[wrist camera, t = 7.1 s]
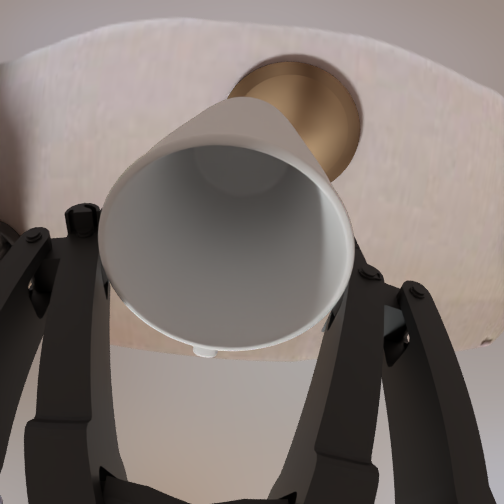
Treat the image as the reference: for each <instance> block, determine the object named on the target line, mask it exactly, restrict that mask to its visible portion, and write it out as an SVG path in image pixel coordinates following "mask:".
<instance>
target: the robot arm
mask: <svg viewBox="0 0 504 504" xmlns="http://www.w3.org/2000/svg"><path fill="white" fill-rule="evenodd" d="M101 212H102V209H101V210H100V209H99V207H98V206H97V205H95V204H92V203H83V204H78V205H75V206H72V207H71V208H69V209H68V210H67V211H66V212H65V219H66V225H67V231H68V235H67V237H64V238H52V239H51V238H50V233H49V230H47V229H46V228H43V227H35V228H31V229H29V230H28V231H26V232H24V233H23V234H22V235H21V236H19V235H18V234H17V233H16V232H15V231H14V230H13V229H12V228H11V227H9V226H8V225H7V224H5V223H3V222H1V221H0V472H1V470H2V467H3V463H4V459H5V455H6V451H7V446H8V441H9V437H10V433H11V429H12V425H13V421H14V417H15V414H16V410H17V407H18V404H19V400H20V397H21V394H22V391H23V387H24V384H25V382H26V379H27V376H28V373H29V370H30V367H31V365H32V362H33V359H34V357H35V354H36V351H37V349H38V346H39V344H40V342H41V339H42V337H43V343H42V350H41V357H40V366H39V375H38V388H37V404H36V415H35V417H34V419H32V420H30V421H28V422H27V424H26V426H25V433H24V458H25V475H26V486H27V495H28V502H29V504H190V503H187V502H185V501H182V500H179V499H177V498H174V497H172V496H169V495H167V494H164V493H162V492H160V491H158V490H155V489H153V488H151V487H149V486H144V485H140V484H136V483H132V482H128V480H127V477H126V472H125V469H124V465H123V462H122V459H121V457H120V453H119V449H118V442H117V435H116V427H115V419H114V409H113V399H112V386H111V369H110V336H109V318H110V283H109V280H108V277H107V275H106V273H105V270H104V268H103V265H102V261H101V257H100V252H99V245H98V228H99V220H100V215H101ZM354 243H355V255H354V264H353V269H352V273H351V276H350V279H349V282H348V284H347V286H346V289H345V291H344V292H343V294H342V296H341V297H340V299H339V300H338V302H337V303H336V305H335V306H334V307H333V308H332V311H331V313H330V315H329V317H328V319H327V321H326V323H325V325H324V327H323V329H322V332H324V331H325V332H324V336H323V340H322V344H321V348H320V352H319V355H318V359H317V363H316V367H315V370H314V374H313V377H312V381H311V385H310V388H309V391H308V394H307V398H306V401H305V404H304V408H303V411H302V414H301V417H300V420H299V423H298V426H297V429H296V432H295V436H294V438H293V441H292V444H291V447H290V450H289V453H288V455H287V458H286V461H285V464H284V466H283V469H282V471H281V474H280V476H279V478H278V479H277V481H276V482H275V484H274V486H273V487H272V489H271V492H270V494H269V496H268V499H267V500H265V499H241V500H235V501H229V502H222V503H214V504H374V501H375V497H376V492H377V488H378V483H379V472H378V468H377V467H376V466H375V465H373V464H372V461H371V455H372V449H373V443H374V437H375V430H376V422H377V415H378V407H379V398H380V388H381V377H382V383H383V388H384V394H385V401H386V408H387V415H388V422H389V431H390V439H391V448H392V460H393V471H394V488H395V504H496V502H495V499H494V497H493V494H492V492H491V490H490V487H489V483H488V476H487V470H486V465H485V459H484V453H483V449H482V443H481V439H480V435H479V430H478V426H477V423H476V418H475V415H474V411H473V407H472V404H471V400H470V397H469V394H468V390H467V387H466V384H465V381H464V378H463V375H462V372H461V369H460V366H459V363H458V361H457V357H456V355H455V352H454V349H453V347H452V344H451V341H450V339H449V336H448V334H447V331H446V329H445V326H444V324H443V322H442V319H441V317H440V315H439V312H438V310H437V308H436V305H435V303H434V301H433V299H432V297H431V295H430V293H429V292H428V290H427V289H426V288H425V287H424V286H423V285H422V284H420V283H418V282H414V281H405V282H404V283H403V285H402V287H401V289H399V288H396V287H394V286H391V285H388V284H386V283H384V278H383V275H382V274H381V273H380V271H378V270H377V269H376V268H375V267H373V266H371V265H369V264H367V262H366V260H365V258H364V256H363V254H362V252H361V250H360V247H359V245H358V244H357V241H356V239H355V237H354ZM30 283H32V285H31V286H30V288H29V289H28V286H29V285H30ZM43 334H44V336H43ZM408 334H409V338H410V339H409V342H408V340H407V336H408ZM0 504H3V500H2V497H1V495H0Z"/></svg>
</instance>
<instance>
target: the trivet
mask: <svg viewBox="0 0 504 504" xmlns="http://www.w3.org/2000/svg"><path fill="white" fill-rule="evenodd" d="M234 97H252V98H257V99H260V100H263V101H265V102H267V103H269V104H271V105H273V106H274V107H276V108H277V109H278V110H279V111H280V112H281V113H282V114H283V115H284V116H285V117H286V118H287V119H288V120H289V122H290V123H291V124H292V126H293V127H294V128H295V130H296V131H297V133H298V134H299V136H300V137H301V138H302V140H303V141H304V143H305V144H306V145H307V147H308V148H309V150H310V151H311V153H312V154H313V155H314V157H315V158H316V160H317V161H318V163H319V164H320V166H321V167H322V169H323V170H324V172H325V173H326V175H327V177H328V179H329V181H330V182H332V181H334V180H335V179H336V178H337V177H338V176H339V175H340V174H341V173H342V172H343V171H344V170H345V169H346V168H347V166H348V165H349V163H350V162H351V160H352V158H353V156H354V154H355V152H356V149H357V146H358V142H359V136H360V121H359V115H358V111H357V108H356V105H355V103H354V101H353V99H352V97H351V95H350V94H349V92H348V91H347V89H346V88H345V87H344V86H343V85H342V84H341V82H340V81H338V80H337V79H336V78H335V77H334V76H332V75H331V74H329V73H328V72H326V71H324V70H322V69H320V68H318V67H316V66H313V65H309V64H306V63H300V62H279V63H274V64H270V65H267V66H264V67H261V68H259V69H257V70H255V71H253V72H251V73H250V74H249V75H247V76H246V77H245V78H243V79H242V80H241V81H240V82H239V83H238V84H237V85H236V86H235V88H234V89H233V90H232V92H231V93H230V95H229V96H228V98H227V99H229V98H234Z"/></svg>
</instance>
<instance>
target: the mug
mask: <svg viewBox="0 0 504 504" xmlns="http://www.w3.org/2000/svg"><path fill="white" fill-rule="evenodd" d="M98 245H99V252H100V257H101V261H102V265H103V268H104V270H105V273H106V275H107V277H108V280H109V282H110V283H111V285H112V287H113V289H114V290H115V292H116V293H117V295H118V296H119V297H120V299H121V300H122V301H123V302H124V304H125V305H126V306H127V307H128V308H129V309H130V310H131V311H132V312H133V313H134V314H135V315H136V316H138V317H139V318H140V319H141V320H142V321H144V322H145V323H146V324H148V325H149V326H151V327H152V328H154V329H156V330H157V331H159V332H161V333H163V334H164V335H166V336H168V337H171V338H173V339H175V340H178V341H180V342H183V343H186V344H189V345H192V346H193V351H194V353H195V354H196V355H198V356H202V357H208V358H211V357H214V356H216V354H217V352H218V350H220V351H244V350H254V349H260V348H265V347H269V346H273V345H276V344H279V343H282V342H285V341H287V340H290V339H292V338H294V337H296V336H298V335H300V334H302V333H304V332H305V331H307V330H308V329H310V328H311V327H313V326H314V325H315V324H317V323H318V322H319V321H320V320H322V319H323V318H324V317H325V316H326V315H327V314H328V313H329V312H330V311H331V309H332V308H333V307H334V306H335V305H336V303H337V302H338V300H339V299H340V297H341V296H342V294H343V292H344V291H345V289H346V286H347V284H348V282H349V279H350V276H351V273H352V269H353V264H354V255H355V243H354V234H353V229H352V225H351V221H350V218H349V215H348V213H347V210H346V208H345V206H344V204H343V202H342V200H341V198H340V197H339V195H338V193H337V192H336V191H335V189H334V188H333V186H332V184H331V182H330V181H329V179H328V177H327V175H326V173H325V172H324V170H323V169H322V167H321V166H320V164H319V163H318V161H317V160H316V158H315V157H314V155H313V154H312V153H311V151H310V150H309V148H308V147H307V145H306V144H305V143H304V141H303V140H302V138H301V137H300V136H299V134H298V133H297V131H296V130H295V128H294V127H293V126H292V124H291V123H290V122H289V120H288V119H287V118H286V117H285V116H284V115H283V114H282V113H281V112H280V111H279V110H278V109H277V108H276V107H274V106H273V105H271V104H269V103H267V102H265V101H263V100H260V99H257V98H252V97H234V98H229V99H226V100H223V101H221V102H219V103H217V104H215V105H213V106H211V107H209V108H208V109H206V110H204V111H203V112H201V113H200V114H199V115H197V116H196V117H194V118H193V119H191V120H190V121H188V122H187V123H185V124H184V125H182V126H181V127H179V128H178V129H176V130H175V131H173V132H172V133H170V134H169V135H168V136H166V137H165V138H164V139H162V140H161V141H160V142H158V143H157V144H156V145H155V146H154V147H152V148H151V149H150V150H149V151H148V152H147V153H146V154H145V155H143V156H142V157H140V158H139V159H138V160H136V161H135V162H134V163H133V164H132V165H131V166H129V167H128V168H127V169H126V170H125V171H124V173H123V174H122V175H121V176H120V177H119V178H118V180H117V181H116V183H115V184H114V185H113V187H112V189H111V190H110V192H109V194H108V196H107V198H106V200H105V203H104V205H103V208H102V212H101V215H100V220H99V228H98Z"/></svg>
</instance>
